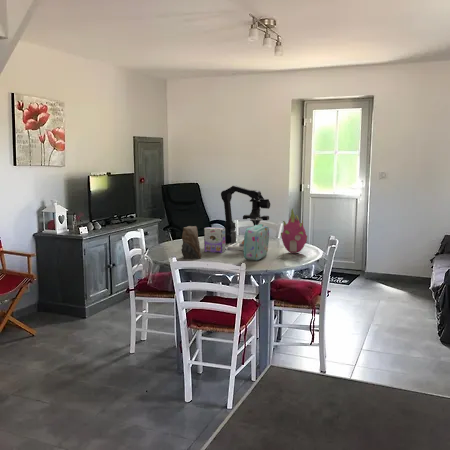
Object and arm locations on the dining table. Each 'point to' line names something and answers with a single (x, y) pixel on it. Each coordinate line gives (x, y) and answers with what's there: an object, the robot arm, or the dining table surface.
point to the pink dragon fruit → (294, 234)
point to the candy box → (214, 240)
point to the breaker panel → (236, 246)
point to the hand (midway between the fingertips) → (255, 229)
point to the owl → (190, 243)
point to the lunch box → (256, 242)
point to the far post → (233, 237)
